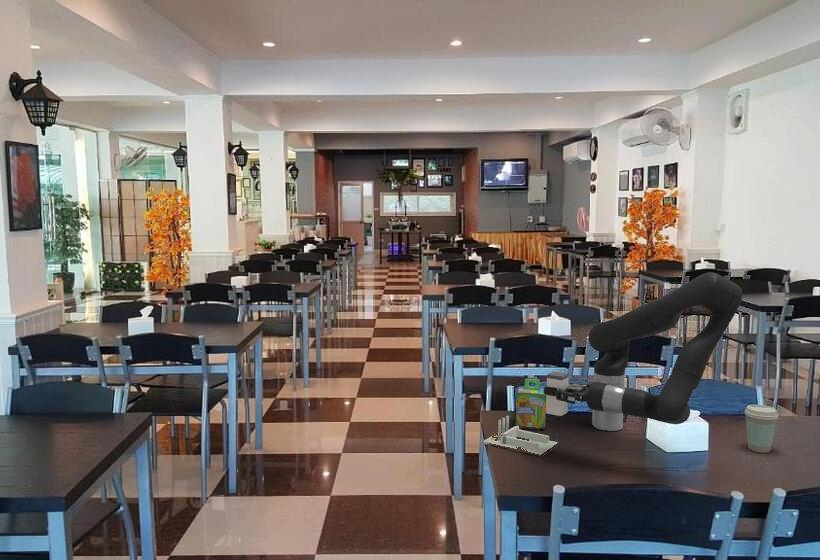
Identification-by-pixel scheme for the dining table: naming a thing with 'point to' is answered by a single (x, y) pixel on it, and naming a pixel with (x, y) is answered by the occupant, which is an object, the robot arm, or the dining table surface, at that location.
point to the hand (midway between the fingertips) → (548, 388)
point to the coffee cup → (760, 427)
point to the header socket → (508, 439)
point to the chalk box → (531, 405)
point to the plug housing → (551, 402)
